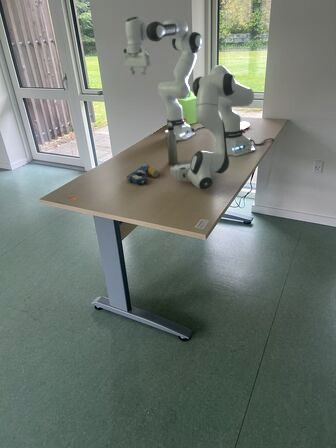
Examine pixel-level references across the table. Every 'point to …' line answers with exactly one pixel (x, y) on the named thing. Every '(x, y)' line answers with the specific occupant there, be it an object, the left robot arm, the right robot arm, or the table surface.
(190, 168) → the right robot arm
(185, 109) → the light green block
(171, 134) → the bottle
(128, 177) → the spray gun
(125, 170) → the table surface
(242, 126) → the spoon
